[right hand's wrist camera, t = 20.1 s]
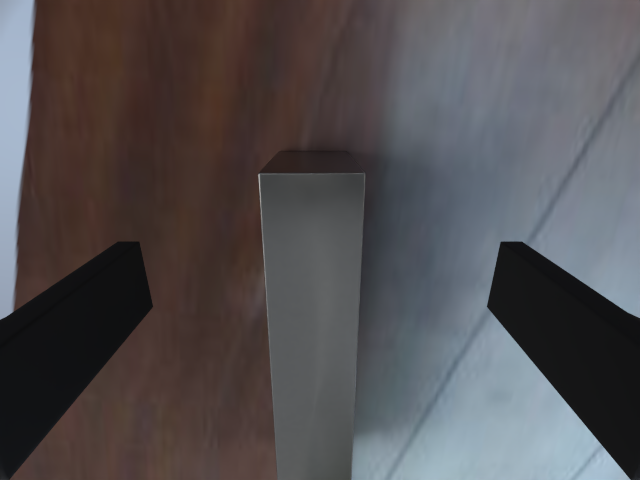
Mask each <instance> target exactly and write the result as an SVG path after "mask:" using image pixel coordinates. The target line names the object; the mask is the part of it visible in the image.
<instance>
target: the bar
mask: <svg viewBox="0 0 640 480" xmlns="http://www.w3.org/2000/svg"><path fill="white" fill-rule="evenodd" d="M365 178H366V174H365V172H364V171H363V170H362V169H361V167H360V166H359V165H358V164H357V163H356V162H355V160H354V159H353V158H352V157H351V156H350V155H349V153H348V152H347V151H279V152H278V153H277V154H276V155H275V156H274V157H273V158H272V159H271V160H270V161H269V163H268V164H267V165H266V166H265V167H264V168H263V169H262V170H261V171H260V172H259V173H258V180H259V196H260V212H261V227H262V243H263V259H264V275H265V290H266V306H267V322H268V338H269V353H270V369H271V385H272V401H273V416H274V432H275V448H276V464H277V480H351V478H352V456H353V435H354V413H355V392H356V371H357V349H358V328H359V306H360V285H361V263H362V242H363V221H364V199H365Z"/></svg>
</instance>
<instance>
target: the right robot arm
mask: <svg viewBox="0 0 640 480" xmlns="http://www.w3.org/2000/svg"><path fill="white" fill-rule="evenodd" d="M152 307H153V305H152V300H151V295H150V290H149V286H148V281H147V276H146V271H145V267H144V262H143V257H142V252H141V248H140V243H139V242H117V243H115V244H114V245H112V246H111V247H109V248H108V249H106V250H105V251H103V252H102V253H101V254H99V255H98V256H96V257H95V258H93V259H92V260H90V261H89V262H87V263H86V264H84V265H83V266H81V267H80V268H78V269H77V270H75V271H74V272H72V273H71V274H69V275H68V276H66V277H65V278H63V279H62V280H60V281H59V282H57V283H56V284H54V285H53V286H51V287H50V288H48V289H47V290H46V291H44V292H43V293H41V294H40V295H38V296H37V297H35V298H34V299H32V300H31V301H29V302H28V303H26V304H25V305H23V306H22V307H20V308H19V309H17V310H16V311H14V312H13V313H11V314H10V315H8V316H7V317H5V318H3V319H1V320H0V480H9V479H10V478H11V477H12V476H13V475H14V473H15V472H16V471H17V470H18V469H19V467H20V466H21V465H22V464H23V463H24V461H25V460H26V459H27V458H28V457H29V455H30V454H31V453H32V452H33V451H34V449H35V448H36V447H37V446H38V444H39V443H40V442H41V441H42V440H43V438H44V437H45V436H46V435H47V434H48V432H49V431H50V430H51V429H52V428H53V426H54V425H55V424H56V423H57V422H58V420H59V419H60V418H61V417H62V416H63V414H64V413H65V412H66V411H67V410H68V408H69V407H70V406H71V405H72V404H73V402H74V401H75V400H76V399H77V398H78V396H79V395H80V394H81V393H82V392H83V390H84V389H85V388H86V387H87V386H88V384H89V383H90V382H91V381H92V380H93V378H94V377H95V376H96V375H97V374H98V372H99V371H100V370H101V369H102V367H103V366H104V365H105V364H106V363H107V361H108V360H109V359H110V358H111V357H112V355H113V354H114V353H115V352H116V351H117V349H118V348H119V347H120V346H121V345H122V343H123V342H124V341H125V340H126V339H127V337H128V336H129V335H130V334H131V333H132V331H133V330H134V329H135V328H136V327H137V325H138V324H139V323H140V322H141V321H142V319H143V318H144V317H145V316H146V315H147V313H148V312H149V311H150V310H151V309H152ZM487 307H488V309H489V310H490V311H491V312H492V313H493V315H494V316H495V317H496V318H497V319H498V321H499V322H500V323H501V324H502V325H503V327H504V328H505V329H506V330H507V331H508V333H509V334H510V335H511V336H512V337H513V339H514V340H515V341H516V342H517V343H518V345H519V346H520V347H521V348H522V349H523V351H524V352H525V353H526V354H527V355H528V357H529V358H530V359H531V360H532V361H533V363H534V364H535V365H536V366H537V367H538V369H539V370H540V371H541V372H542V374H543V375H544V376H545V377H546V378H547V380H548V381H549V382H550V383H551V384H552V386H553V387H554V388H555V389H556V390H557V392H558V393H559V394H560V395H561V396H562V398H563V399H564V400H565V401H566V402H567V404H568V405H569V406H570V407H571V408H572V410H573V411H574V412H575V413H576V414H577V416H578V417H579V418H580V419H581V420H582V422H583V423H584V424H585V425H586V426H587V428H588V429H589V430H590V431H591V432H592V434H593V435H594V436H595V437H596V438H597V440H598V441H599V442H600V443H601V444H602V446H603V447H604V448H605V449H606V451H607V452H608V453H609V454H610V455H611V457H612V458H613V459H614V460H615V461H616V463H617V464H618V465H619V466H620V467H621V469H622V470H623V471H624V472H625V473H626V475H627V476H628V477H629V478H630V479H631V480H640V318H638V317H636V316H634V315H632V314H629V313H627V312H626V311H624V310H623V309H621V308H620V307H618V306H617V305H615V304H614V303H612V302H611V301H609V300H608V299H606V298H605V297H603V296H602V295H600V294H599V293H597V292H596V291H594V290H593V289H592V288H590V287H589V286H587V285H586V284H584V283H583V282H581V281H580V280H578V279H577V278H575V277H574V276H572V275H571V274H569V273H568V272H566V271H565V270H563V269H562V268H560V267H559V266H557V265H556V264H554V263H553V262H551V261H550V260H548V259H547V258H545V257H544V256H542V255H541V254H539V253H538V252H537V251H535V250H534V249H532V248H531V247H529V246H528V245H526V244H525V243H523V242H501V243H500V248H499V252H498V257H497V262H496V267H495V271H494V276H493V281H492V286H491V290H490V295H489V300H488V305H487Z"/></svg>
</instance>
